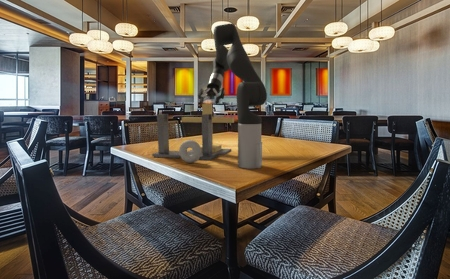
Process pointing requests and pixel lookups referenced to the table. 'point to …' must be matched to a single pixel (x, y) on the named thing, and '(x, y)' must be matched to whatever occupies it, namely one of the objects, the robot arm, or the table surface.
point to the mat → (220, 152)
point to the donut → (196, 149)
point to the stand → (205, 154)
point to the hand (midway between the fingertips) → (208, 103)
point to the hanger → (208, 110)
